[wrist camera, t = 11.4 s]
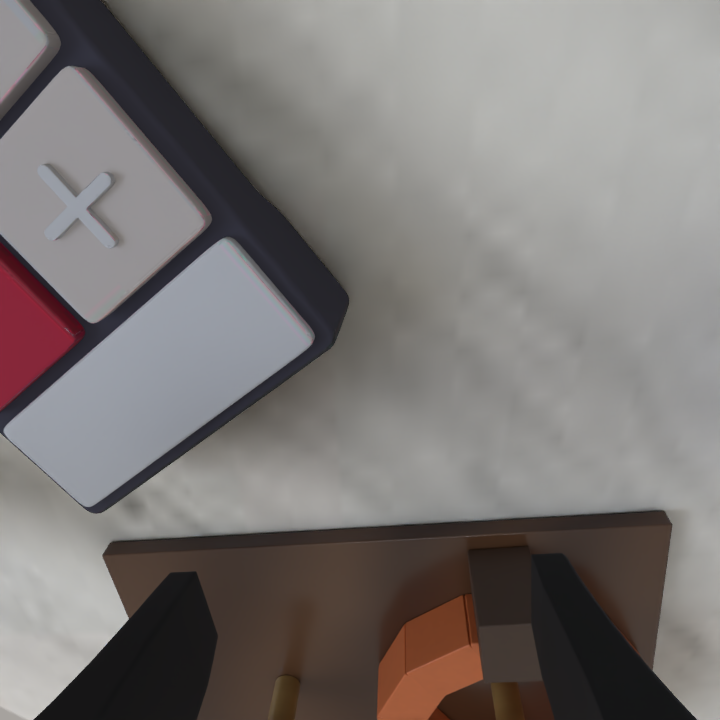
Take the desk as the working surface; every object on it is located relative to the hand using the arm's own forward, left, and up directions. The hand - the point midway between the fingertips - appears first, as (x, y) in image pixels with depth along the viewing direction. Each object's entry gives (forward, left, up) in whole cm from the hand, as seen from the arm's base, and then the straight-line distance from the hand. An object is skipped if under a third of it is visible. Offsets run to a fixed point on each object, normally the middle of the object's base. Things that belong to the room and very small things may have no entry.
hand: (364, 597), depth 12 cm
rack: (+1, +15, -9) cm, 18 cm away
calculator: (+9, -7, -10) cm, 15 cm away
